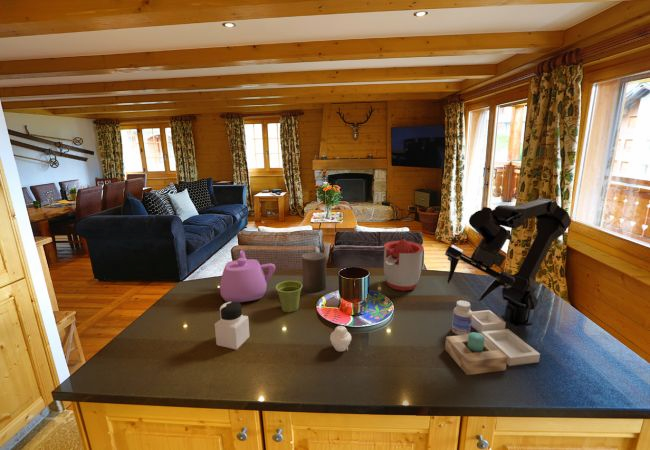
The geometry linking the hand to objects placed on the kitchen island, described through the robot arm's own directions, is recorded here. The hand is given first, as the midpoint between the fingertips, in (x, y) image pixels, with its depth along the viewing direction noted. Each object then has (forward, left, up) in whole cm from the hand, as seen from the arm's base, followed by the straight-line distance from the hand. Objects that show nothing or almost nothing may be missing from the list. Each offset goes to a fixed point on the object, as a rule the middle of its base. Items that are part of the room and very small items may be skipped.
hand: (463, 291), depth 93 cm
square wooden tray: (-1, +7, -17) cm, 18 cm away
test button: (-1, +7, -14) cm, 16 cm away
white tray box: (-14, -7, -17) cm, 23 cm away
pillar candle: (+36, -46, -17) cm, 61 cm away
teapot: (+64, -44, -17) cm, 80 cm away
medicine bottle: (+65, -13, -17) cm, 69 cm away
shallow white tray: (-13, +5, -17) cm, 22 cm away
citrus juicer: (+1, -41, -17) cm, 44 cm away
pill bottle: (-5, -6, -17) cm, 19 cm away
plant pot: (+47, -30, -17) cm, 59 cm away
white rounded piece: (+34, -4, -17) cm, 38 cm away
